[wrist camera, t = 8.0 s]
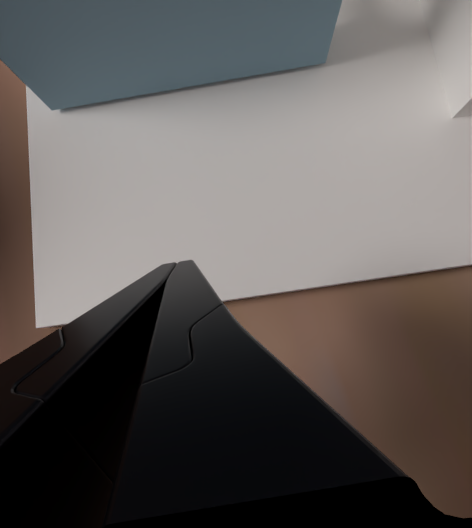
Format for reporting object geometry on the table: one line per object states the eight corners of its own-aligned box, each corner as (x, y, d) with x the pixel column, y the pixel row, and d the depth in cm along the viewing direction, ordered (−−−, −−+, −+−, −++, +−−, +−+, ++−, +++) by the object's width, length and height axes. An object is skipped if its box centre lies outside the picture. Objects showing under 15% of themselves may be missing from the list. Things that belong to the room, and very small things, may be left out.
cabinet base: (502, 261, 16) (984, 151, 5) (49, 327, 16) (-303, 345, 6) (410, -68, 19) (600, -542, 8) (33, 3, 20) (-217, -347, 9)
